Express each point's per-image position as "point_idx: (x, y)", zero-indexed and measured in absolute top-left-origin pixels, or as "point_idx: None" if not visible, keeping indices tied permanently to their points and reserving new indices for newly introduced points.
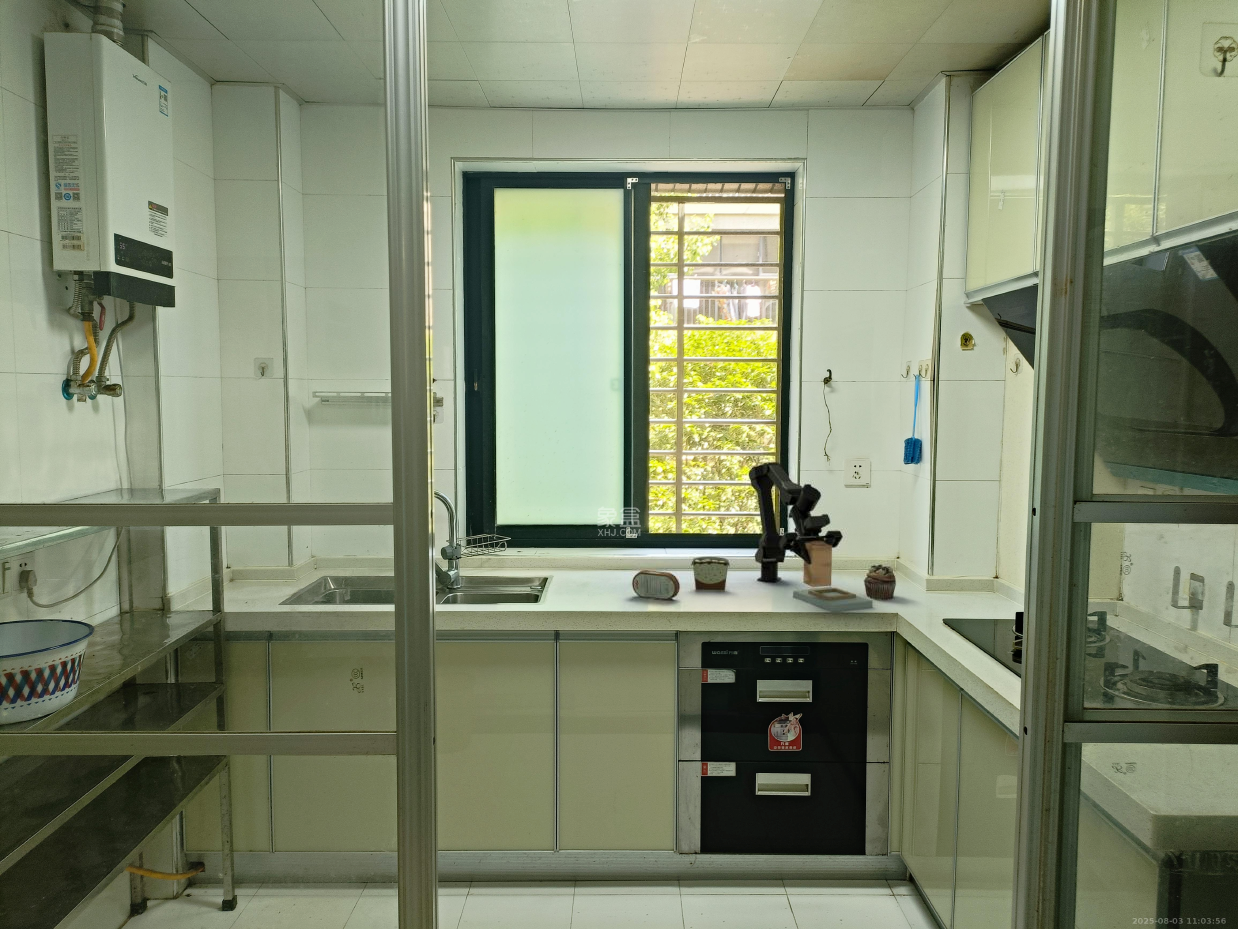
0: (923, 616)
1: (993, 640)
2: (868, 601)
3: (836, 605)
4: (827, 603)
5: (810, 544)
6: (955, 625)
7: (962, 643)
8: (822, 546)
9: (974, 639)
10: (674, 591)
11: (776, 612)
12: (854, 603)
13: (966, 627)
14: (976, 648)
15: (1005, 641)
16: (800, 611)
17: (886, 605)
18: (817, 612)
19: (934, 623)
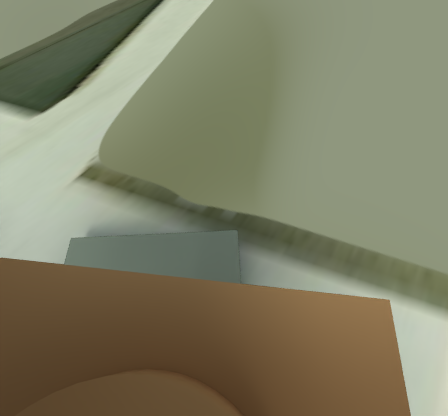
0: (55, 137)
1: (103, 20)
2: (89, 237)
3: (225, 231)
4: (239, 263)
5: None
6: (69, 78)
7: (159, 20)
8: (188, 280)
9: (123, 27)
10: None
11: (436, 302)
12: (149, 235)
13: (65, 67)
14: (162, 6)
15: (93, 15)
16: (340, 284)
17: (21, 254)
18: (288, 252)
19: (90, 95)
